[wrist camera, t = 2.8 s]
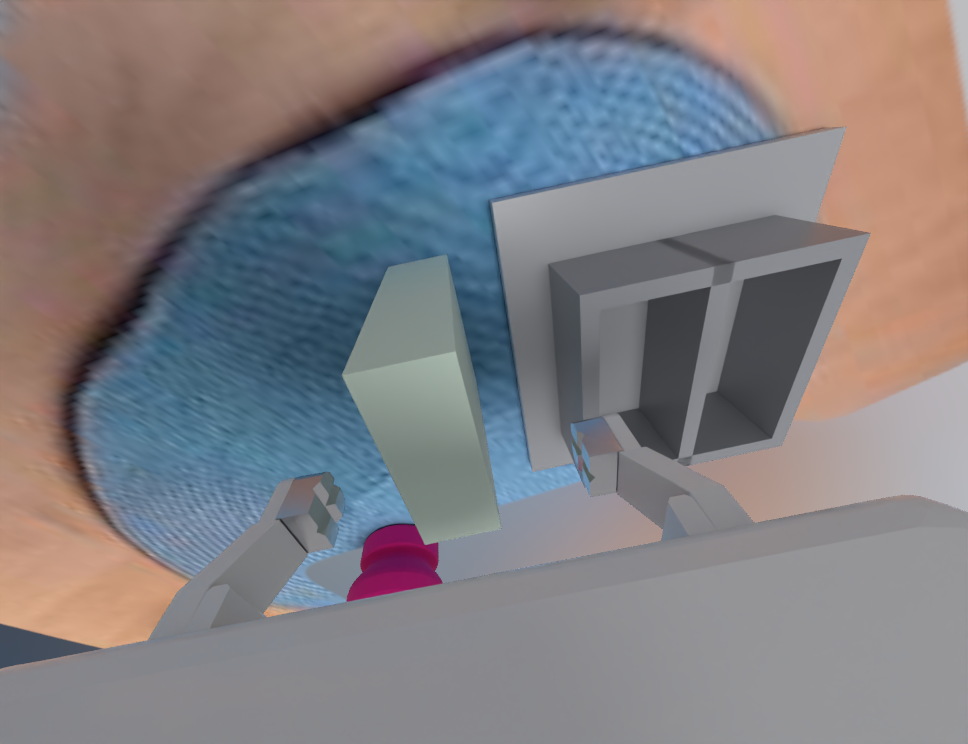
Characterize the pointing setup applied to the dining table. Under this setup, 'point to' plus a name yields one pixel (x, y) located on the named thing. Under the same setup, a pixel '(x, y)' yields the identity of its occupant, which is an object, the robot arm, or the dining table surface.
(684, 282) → the dish rack
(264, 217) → the dining table surface
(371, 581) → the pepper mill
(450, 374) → the rectangular block
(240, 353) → the dining table surface
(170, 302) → the dining table surface
